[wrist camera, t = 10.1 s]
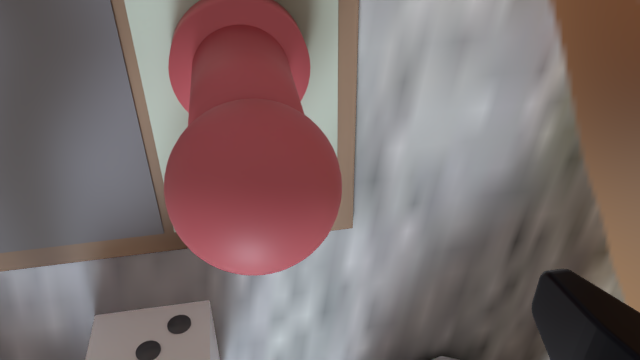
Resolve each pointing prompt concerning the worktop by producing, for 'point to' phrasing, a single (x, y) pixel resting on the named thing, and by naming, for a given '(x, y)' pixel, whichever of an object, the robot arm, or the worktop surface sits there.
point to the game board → (125, 121)
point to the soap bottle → (444, 358)
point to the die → (155, 334)
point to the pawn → (247, 140)
